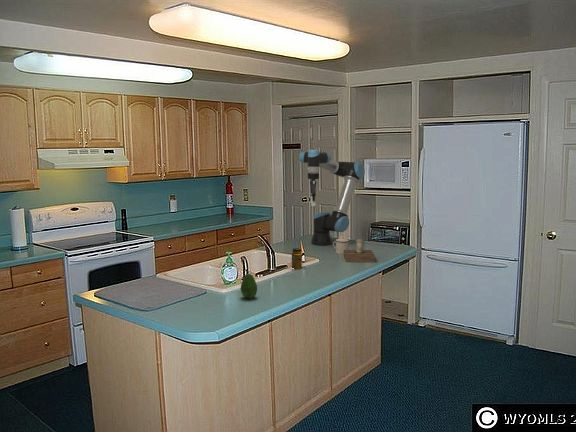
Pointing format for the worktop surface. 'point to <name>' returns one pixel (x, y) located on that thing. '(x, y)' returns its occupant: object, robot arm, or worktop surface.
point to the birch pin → (359, 246)
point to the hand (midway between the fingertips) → (313, 204)
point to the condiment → (297, 259)
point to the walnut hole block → (359, 256)
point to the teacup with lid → (341, 245)
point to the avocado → (248, 286)
